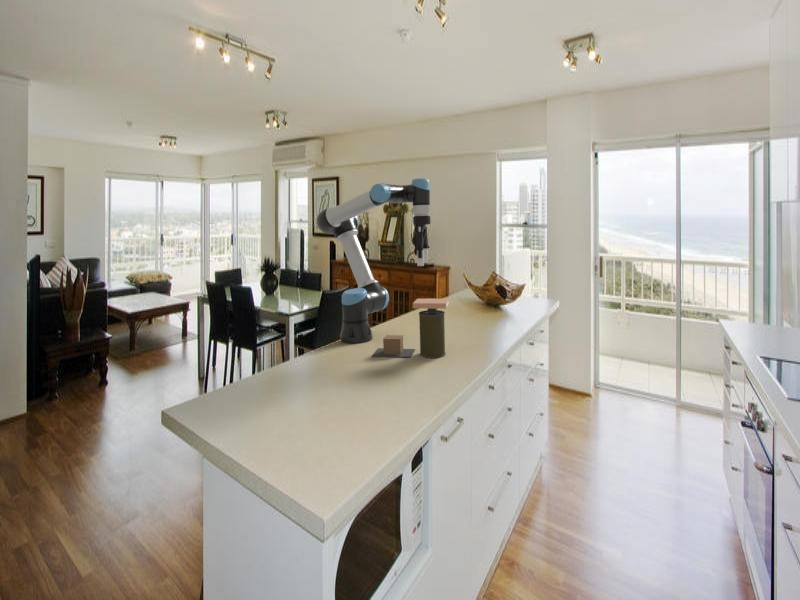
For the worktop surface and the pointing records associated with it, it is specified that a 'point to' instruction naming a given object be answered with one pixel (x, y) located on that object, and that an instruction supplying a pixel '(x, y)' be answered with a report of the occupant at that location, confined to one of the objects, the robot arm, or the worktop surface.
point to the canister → (432, 333)
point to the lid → (431, 303)
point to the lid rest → (393, 348)
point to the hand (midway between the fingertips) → (422, 264)
